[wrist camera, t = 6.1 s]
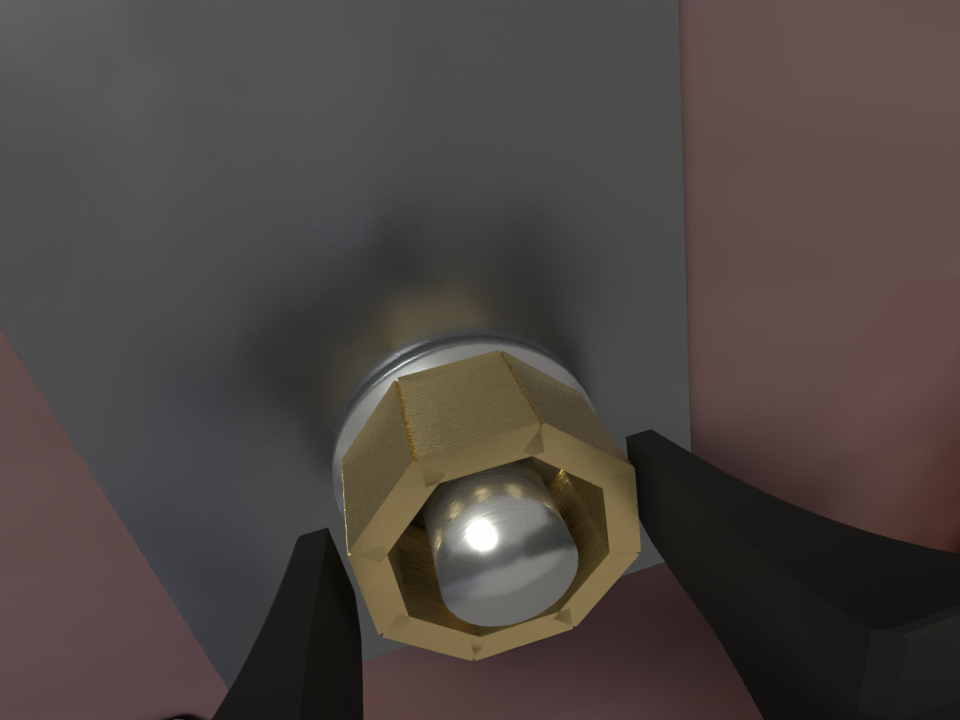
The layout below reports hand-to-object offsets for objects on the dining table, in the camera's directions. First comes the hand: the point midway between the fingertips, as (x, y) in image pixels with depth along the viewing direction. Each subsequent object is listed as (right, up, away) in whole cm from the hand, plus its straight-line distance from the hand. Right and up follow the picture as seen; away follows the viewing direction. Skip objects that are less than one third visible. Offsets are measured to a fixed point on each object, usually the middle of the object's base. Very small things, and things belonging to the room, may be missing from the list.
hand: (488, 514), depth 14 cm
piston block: (-2, +5, +1) cm, 5 cm away
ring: (0, +1, +1) cm, 2 cm away
